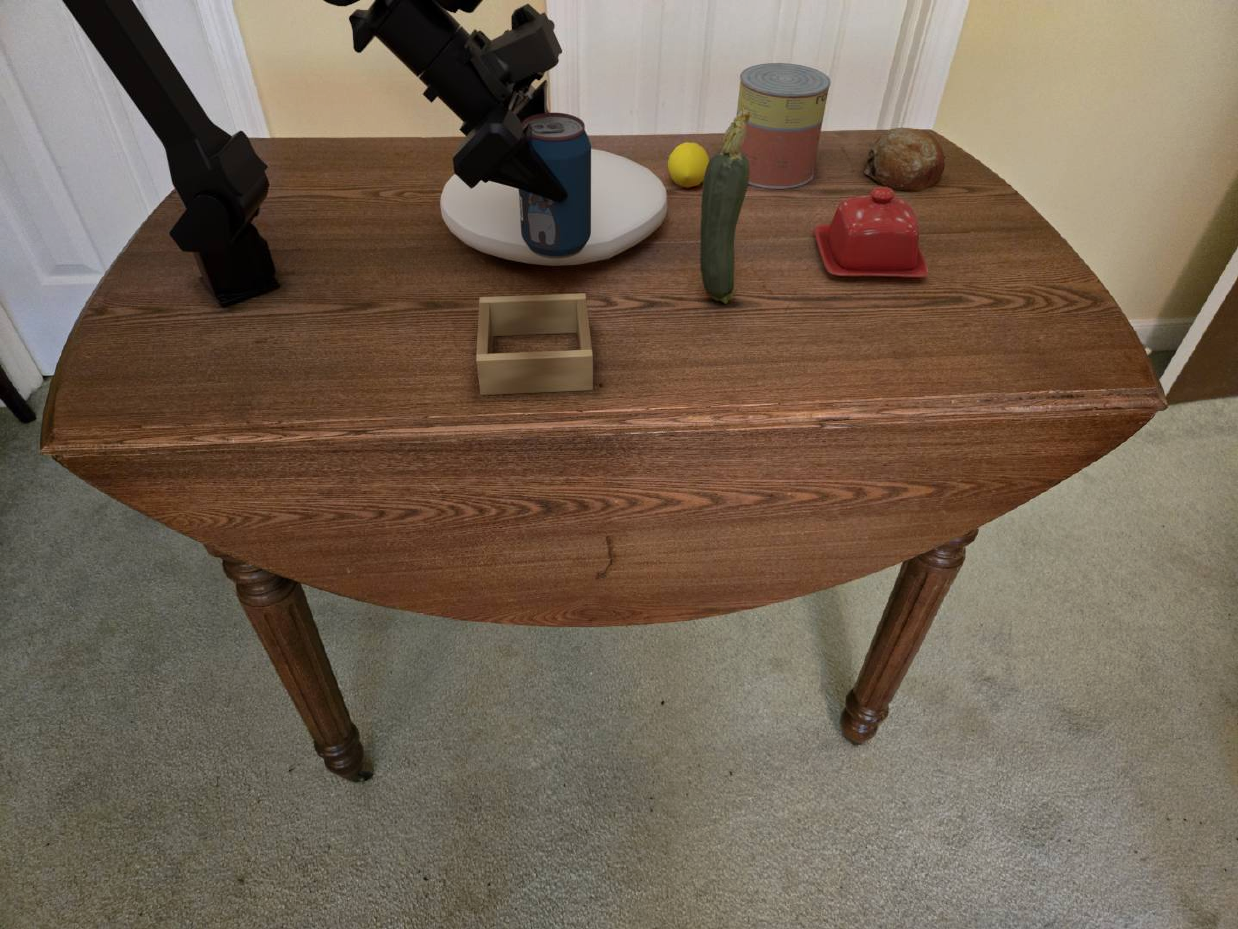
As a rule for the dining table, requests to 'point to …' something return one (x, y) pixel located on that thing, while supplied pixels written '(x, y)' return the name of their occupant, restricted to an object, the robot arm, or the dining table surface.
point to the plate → (619, 213)
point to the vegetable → (723, 210)
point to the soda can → (569, 159)
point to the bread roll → (905, 159)
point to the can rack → (534, 367)
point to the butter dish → (872, 238)
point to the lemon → (688, 164)
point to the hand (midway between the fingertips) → (569, 182)
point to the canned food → (782, 122)
